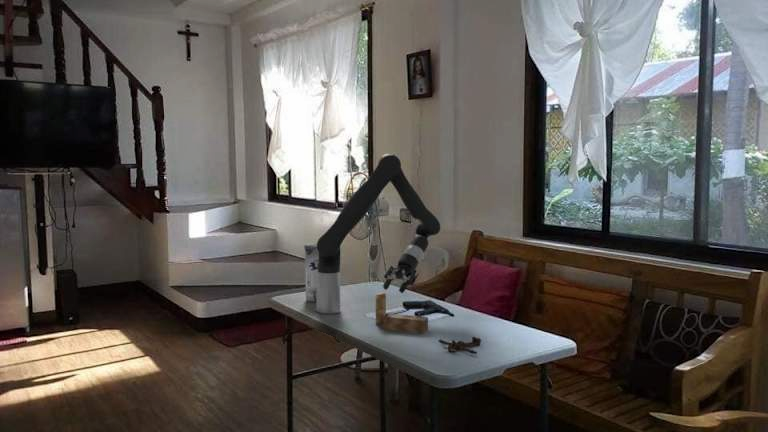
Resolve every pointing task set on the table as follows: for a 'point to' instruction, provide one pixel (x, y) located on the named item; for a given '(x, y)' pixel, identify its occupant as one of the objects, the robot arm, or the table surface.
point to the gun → (426, 307)
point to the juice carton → (311, 271)
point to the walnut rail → (406, 323)
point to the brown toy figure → (462, 345)
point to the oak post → (380, 308)
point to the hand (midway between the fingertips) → (392, 290)
